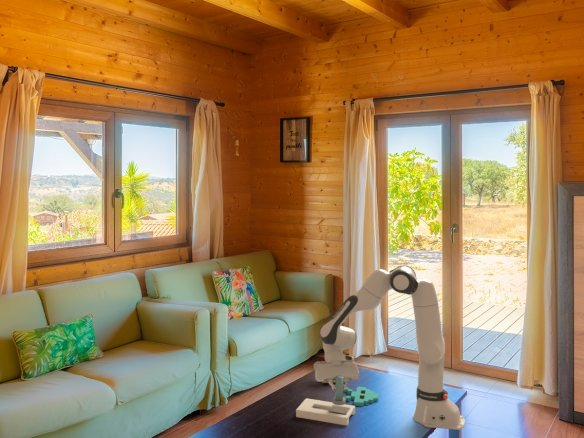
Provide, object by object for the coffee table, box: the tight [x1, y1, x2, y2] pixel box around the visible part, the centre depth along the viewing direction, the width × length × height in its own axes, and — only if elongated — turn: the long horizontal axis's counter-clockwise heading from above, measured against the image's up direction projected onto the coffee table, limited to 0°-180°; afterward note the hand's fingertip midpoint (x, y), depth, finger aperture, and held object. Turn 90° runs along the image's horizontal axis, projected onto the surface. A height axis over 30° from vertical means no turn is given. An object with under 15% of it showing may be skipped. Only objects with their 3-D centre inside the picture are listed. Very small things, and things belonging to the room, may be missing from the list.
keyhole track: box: [295, 397, 356, 426], centre depth 255 cm, size 24×14×3 cm, turn 70°
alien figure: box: [343, 386, 380, 407], centre depth 275 cm, size 20×2×20 cm
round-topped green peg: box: [331, 376, 347, 405], centre depth 252 cm, size 6×6×12 cm
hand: (339, 389), depth 251 cm, fingers closed on round-topped green peg, 4 cm apart
